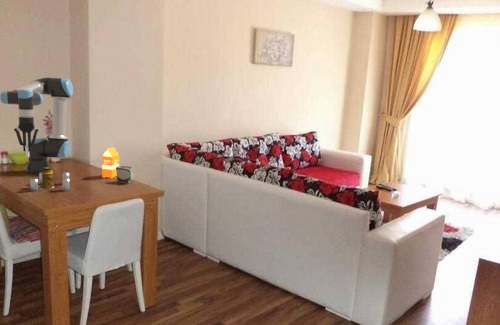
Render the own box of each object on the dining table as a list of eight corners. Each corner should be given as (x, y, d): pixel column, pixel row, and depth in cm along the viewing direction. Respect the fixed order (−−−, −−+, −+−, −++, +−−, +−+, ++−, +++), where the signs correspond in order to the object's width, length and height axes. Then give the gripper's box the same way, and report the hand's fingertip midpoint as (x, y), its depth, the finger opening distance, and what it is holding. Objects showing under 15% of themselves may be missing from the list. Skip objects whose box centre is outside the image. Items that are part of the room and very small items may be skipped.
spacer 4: (62, 189, 252) (62, 178, 251) (70, 189, 254) (69, 178, 252) (61, 191, 249) (61, 179, 247) (69, 191, 250) (69, 179, 249)
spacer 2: (40, 183, 263) (39, 172, 262) (47, 183, 264) (47, 172, 263) (39, 184, 260) (38, 173, 258) (46, 184, 261) (45, 173, 259)
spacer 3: (63, 183, 267) (62, 172, 266) (69, 183, 268) (69, 172, 267) (62, 184, 263) (61, 173, 262) (69, 184, 264) (68, 173, 263)
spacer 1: (31, 189, 248) (30, 178, 246) (38, 189, 249) (38, 178, 248) (29, 191, 244) (29, 179, 243) (37, 191, 245) (37, 179, 244)
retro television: (136, 182, 280) (136, 167, 278) (130, 184, 274) (130, 169, 272) (121, 179, 285) (121, 165, 283) (115, 181, 279) (115, 166, 277)
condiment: (55, 188, 255) (54, 168, 252) (39, 189, 250) (38, 169, 248) (52, 185, 261) (52, 166, 258) (37, 186, 256) (37, 166, 254)
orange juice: (102, 177, 288) (101, 148, 285) (109, 174, 297) (109, 146, 293) (112, 178, 287) (112, 149, 283) (119, 175, 295) (119, 147, 292)
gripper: (11, 116, 239) (13, 157, 244) (37, 117, 243) (38, 158, 247) (15, 115, 247) (16, 155, 251) (39, 116, 250) (40, 155, 254)
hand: (27, 156), depth 249 cm, fingers closed
